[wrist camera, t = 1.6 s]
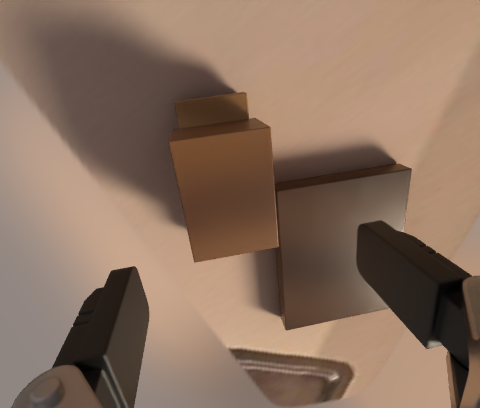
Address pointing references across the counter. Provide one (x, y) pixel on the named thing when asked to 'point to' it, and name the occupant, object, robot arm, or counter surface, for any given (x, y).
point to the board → (332, 240)
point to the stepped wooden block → (224, 176)
